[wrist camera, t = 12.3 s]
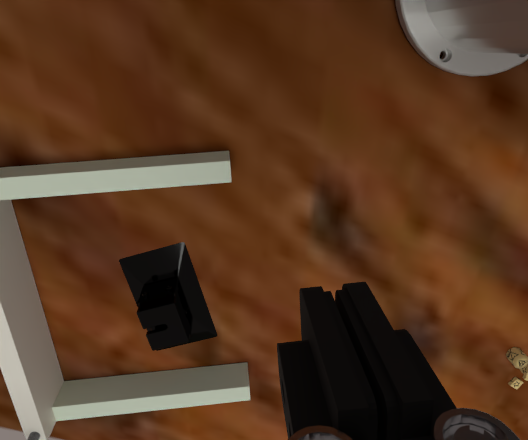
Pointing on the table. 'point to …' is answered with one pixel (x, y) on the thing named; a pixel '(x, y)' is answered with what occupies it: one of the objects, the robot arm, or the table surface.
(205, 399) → the frame
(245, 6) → the table surface
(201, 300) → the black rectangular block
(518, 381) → the dice set
